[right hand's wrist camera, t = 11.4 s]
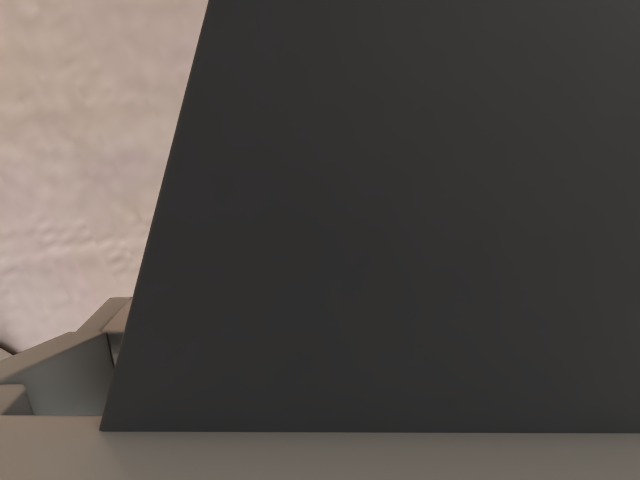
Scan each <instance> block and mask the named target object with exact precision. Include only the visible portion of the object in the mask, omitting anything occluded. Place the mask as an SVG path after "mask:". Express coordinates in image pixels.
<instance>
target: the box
mask: <svg viewBox="0 0 640 480" xmlns="http://www.w3.org/2000/svg"><path fill="white" fill-rule="evenodd" d="M99 431H102V432H346V433H640V0H209V1H208V5H207V9H206V13H205V17H204V21H203V25H202V29H201V32H200V36H199V40H198V44H197V48H196V52H195V56H194V60H193V64H192V68H191V72H190V75H189V79H188V83H187V87H186V91H185V95H184V99H183V103H182V107H181V111H180V115H179V118H178V122H177V126H176V130H175V134H174V138H173V142H172V146H171V150H170V154H169V157H168V161H167V165H166V169H165V173H164V177H163V181H162V185H161V189H160V193H159V197H158V200H157V204H156V208H155V212H154V216H153V220H152V224H151V228H150V232H149V236H148V240H147V243H146V247H145V251H144V255H143V259H142V263H141V267H140V271H139V275H138V279H137V282H136V286H135V290H134V294H133V298H132V302H131V306H130V310H129V314H128V318H127V322H126V325H125V329H124V333H123V337H122V341H121V345H120V349H119V353H118V357H117V361H116V365H115V368H114V372H113V376H112V380H111V384H110V388H109V392H108V396H107V400H106V404H105V407H104V411H103V415H102V419H101V423H100V427H99Z"/></svg>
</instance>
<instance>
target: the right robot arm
mask: <svg viewBox="0 0 640 480" xmlns="http://www.w3.org/2000/svg"><path fill="white" fill-rule="evenodd" d="M132 298H133V297H115V298H110V299H109V300H107V301H106V302H105V303H104V304H103V305H102V306H101V307H100V308H99V309H98V310H97V311H96V312H95V313H94V314H93V315H92V316H91V317H90V318H89V319H88V320H87V321H86V322H85V323H84V324H83V325H82V326H81V327H80V328H79V329H78V330H77V331H76V332H68V333H65V334H63V335H61V336H58V337H56V338H54V339H51V340H49V341H46V342H44V343H42V344H39V345H37V346H35V347H32V348H30V349H27V350H25V351H23V352H20V353H18V354H15V355H12V354H10V353H8V352H7V351H5V350H3V349H1V348H0V480H640V433H346V432H102V431H99V427H100V423H101V419H102V415H103V411H104V407H105V404H106V400H107V396H108V392H109V388H110V384H111V380H112V376H113V372H114V368H115V365H116V361H117V357H118V353H119V349H120V345H121V341H122V337H123V333H124V329H125V325H126V322H127V318H128V314H129V310H130V306H131V302H132Z"/></svg>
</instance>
